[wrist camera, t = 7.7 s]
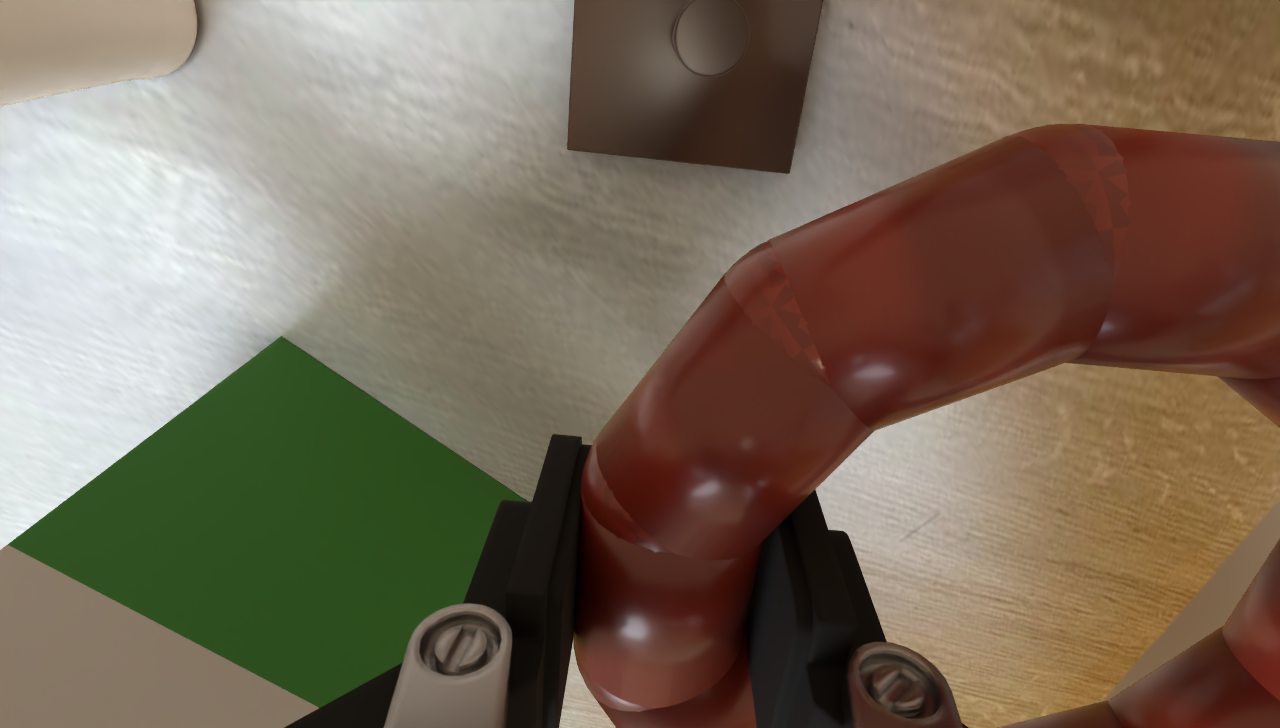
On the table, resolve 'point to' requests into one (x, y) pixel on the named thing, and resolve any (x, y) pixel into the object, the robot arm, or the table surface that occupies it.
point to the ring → (926, 392)
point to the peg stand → (691, 79)
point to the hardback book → (240, 560)
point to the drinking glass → (89, 43)
